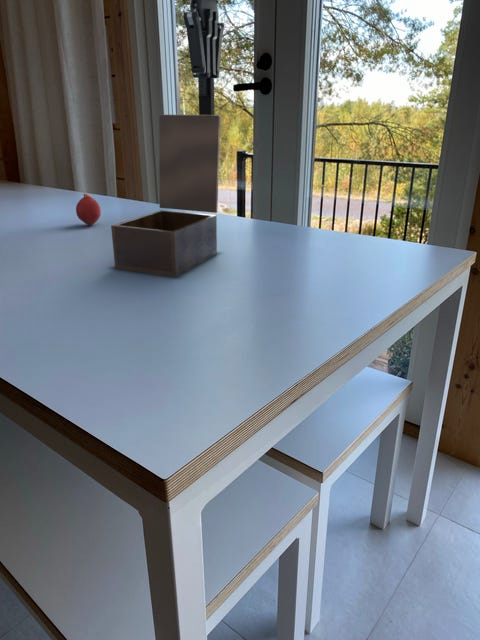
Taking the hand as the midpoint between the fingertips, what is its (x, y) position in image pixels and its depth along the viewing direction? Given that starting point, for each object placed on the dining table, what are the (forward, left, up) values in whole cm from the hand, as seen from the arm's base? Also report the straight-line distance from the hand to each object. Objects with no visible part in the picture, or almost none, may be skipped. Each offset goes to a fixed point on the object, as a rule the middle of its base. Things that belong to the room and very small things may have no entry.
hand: (206, 114), depth 95 cm
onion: (-34, +2, -26) cm, 43 cm away
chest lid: (0, -8, -9) cm, 12 cm away
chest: (0, -17, -26) cm, 31 cm away
